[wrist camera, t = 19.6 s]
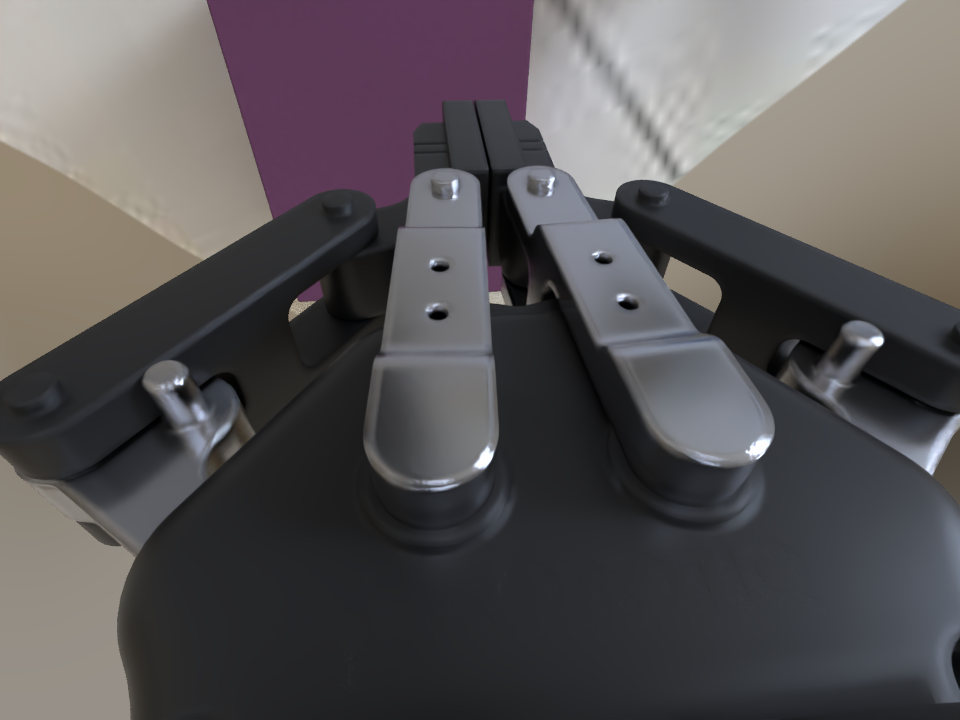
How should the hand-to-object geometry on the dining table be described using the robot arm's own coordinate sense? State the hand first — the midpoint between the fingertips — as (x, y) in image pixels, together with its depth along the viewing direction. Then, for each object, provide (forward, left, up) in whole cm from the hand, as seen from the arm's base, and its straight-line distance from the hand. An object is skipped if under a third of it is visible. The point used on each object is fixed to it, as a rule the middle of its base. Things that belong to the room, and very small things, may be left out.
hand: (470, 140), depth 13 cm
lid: (+7, -3, -13) cm, 14 cm away
